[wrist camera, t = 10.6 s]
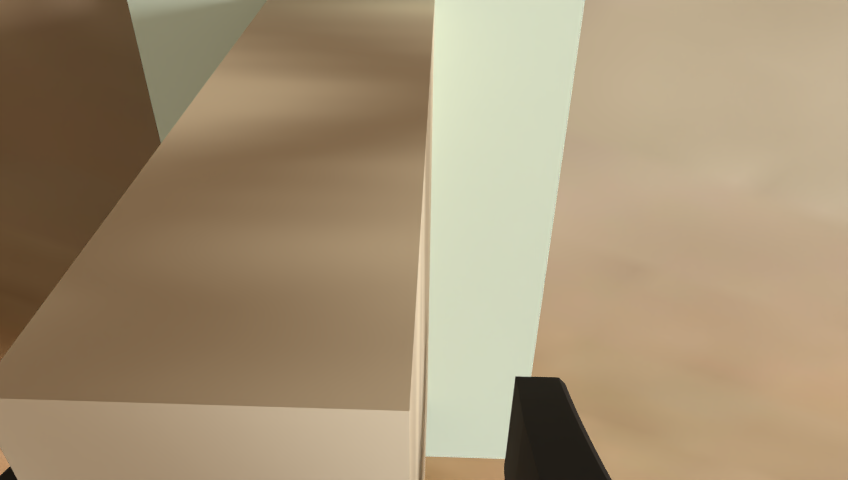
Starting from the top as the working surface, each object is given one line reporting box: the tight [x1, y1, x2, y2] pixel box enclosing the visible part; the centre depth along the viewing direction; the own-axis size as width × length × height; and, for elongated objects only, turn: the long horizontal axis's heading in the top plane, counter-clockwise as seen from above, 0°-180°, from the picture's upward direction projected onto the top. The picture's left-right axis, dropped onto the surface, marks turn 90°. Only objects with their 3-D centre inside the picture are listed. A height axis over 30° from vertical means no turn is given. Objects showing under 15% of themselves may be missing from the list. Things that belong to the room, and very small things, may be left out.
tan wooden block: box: [0, 0, 435, 480], centre depth 10 cm, size 2×9×8 cm, turn 179°
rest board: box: [127, 0, 585, 459], centre depth 14 cm, size 12×7×1 cm, turn 179°
